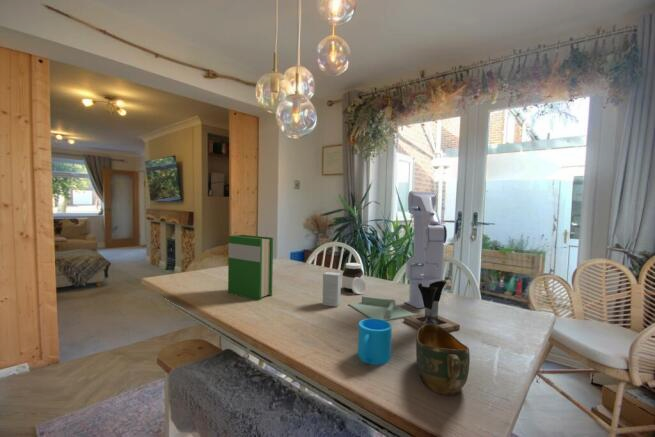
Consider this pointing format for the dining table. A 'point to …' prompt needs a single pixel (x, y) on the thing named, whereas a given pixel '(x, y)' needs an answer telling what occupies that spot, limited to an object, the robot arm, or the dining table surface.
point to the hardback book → (250, 266)
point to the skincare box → (331, 289)
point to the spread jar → (353, 278)
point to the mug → (374, 341)
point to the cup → (441, 360)
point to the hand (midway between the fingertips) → (431, 304)
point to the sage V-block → (380, 308)
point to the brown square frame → (444, 323)
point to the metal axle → (432, 314)
